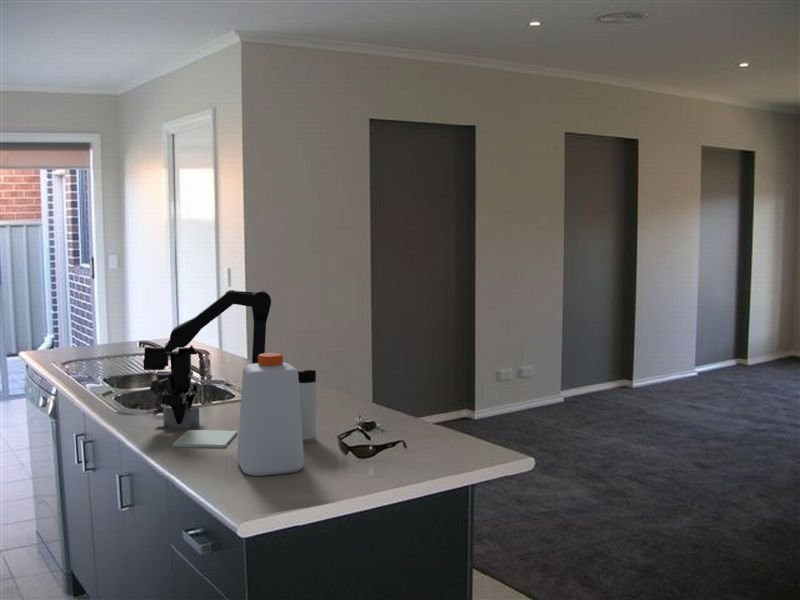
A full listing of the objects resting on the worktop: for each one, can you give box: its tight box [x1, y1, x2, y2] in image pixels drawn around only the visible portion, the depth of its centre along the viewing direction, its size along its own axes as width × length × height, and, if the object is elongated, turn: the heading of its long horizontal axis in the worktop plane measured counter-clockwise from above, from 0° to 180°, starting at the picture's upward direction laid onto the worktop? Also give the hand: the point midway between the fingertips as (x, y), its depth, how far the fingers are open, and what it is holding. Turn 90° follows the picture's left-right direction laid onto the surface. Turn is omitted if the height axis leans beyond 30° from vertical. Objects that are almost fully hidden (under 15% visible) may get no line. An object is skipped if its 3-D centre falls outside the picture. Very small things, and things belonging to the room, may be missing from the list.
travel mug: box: [297, 369, 317, 444], centre depth 215 cm, size 6×7×20 cm
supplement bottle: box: [153, 372, 171, 411], centre depth 250 cm, size 6×6×11 cm
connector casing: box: [155, 405, 200, 429], centre depth 229 cm, size 12×4×6 cm, turn 89°
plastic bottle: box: [236, 352, 305, 477], centre depth 191 cm, size 15×15×28 cm
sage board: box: [172, 429, 238, 449], centre depth 215 cm, size 14×14×1 cm
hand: (181, 421), depth 229 cm, fingers closed on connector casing, 4 cm apart
